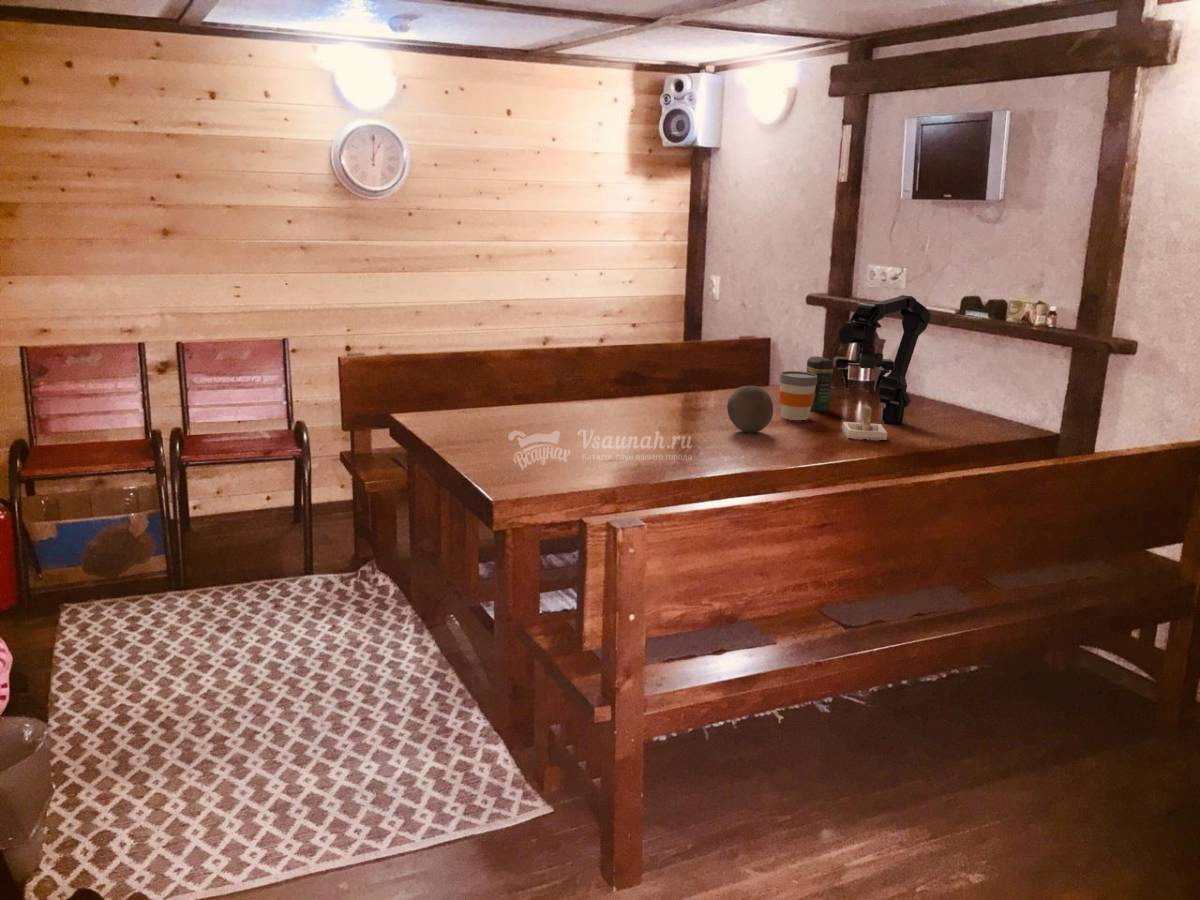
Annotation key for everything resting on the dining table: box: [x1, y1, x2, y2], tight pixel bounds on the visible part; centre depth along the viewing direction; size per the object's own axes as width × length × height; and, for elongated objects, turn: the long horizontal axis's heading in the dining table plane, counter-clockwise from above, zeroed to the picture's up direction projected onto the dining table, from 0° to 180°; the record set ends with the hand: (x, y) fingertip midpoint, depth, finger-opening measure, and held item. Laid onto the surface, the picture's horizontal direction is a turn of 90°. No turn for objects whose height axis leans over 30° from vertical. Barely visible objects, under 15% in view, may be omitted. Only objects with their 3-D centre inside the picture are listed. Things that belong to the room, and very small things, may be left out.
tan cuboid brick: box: [860, 405, 873, 431], centre depth 314 cm, size 2×4×8 cm, turn 175°
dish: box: [841, 421, 888, 441], centre depth 315 cm, size 12×12×3 cm
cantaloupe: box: [726, 385, 774, 434], centre depth 310 cm, size 14×14×15 cm
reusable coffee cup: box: [778, 370, 817, 421], centre depth 334 cm, size 13×13×15 cm
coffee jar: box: [806, 356, 834, 412], centre depth 349 cm, size 10×8×19 cm
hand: (860, 389), depth 322 cm, fingers open, 9 cm apart
